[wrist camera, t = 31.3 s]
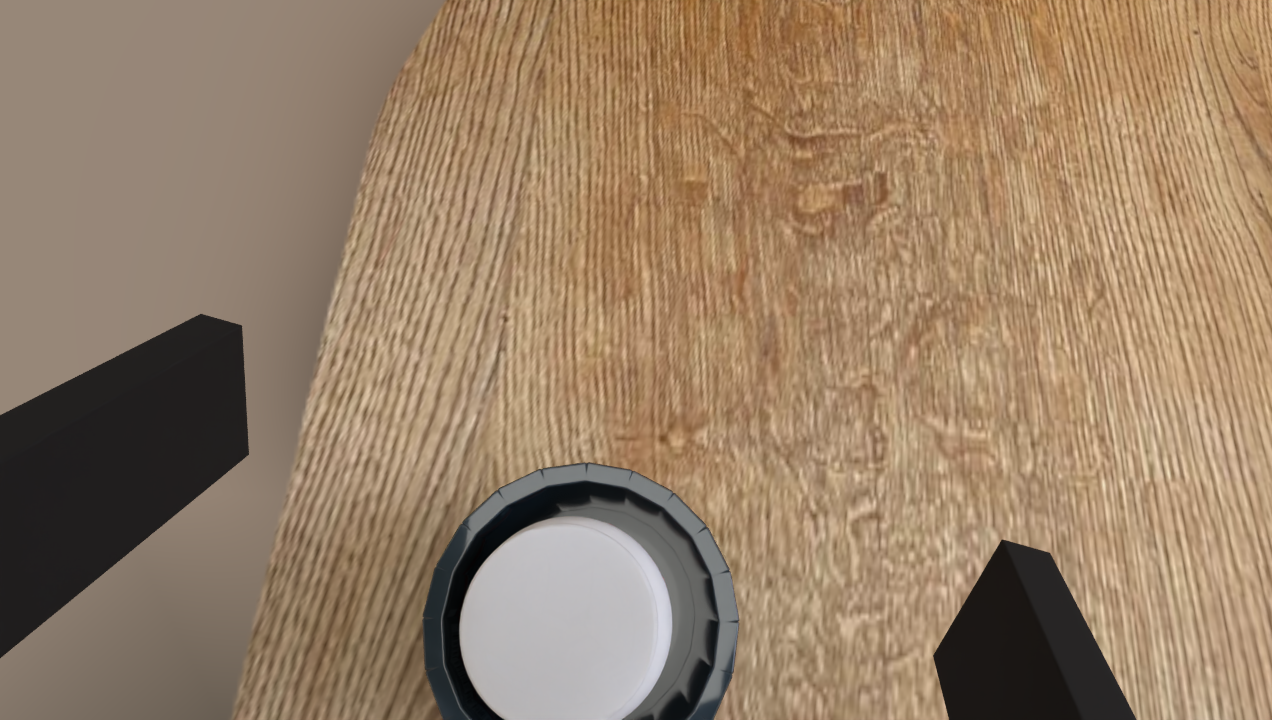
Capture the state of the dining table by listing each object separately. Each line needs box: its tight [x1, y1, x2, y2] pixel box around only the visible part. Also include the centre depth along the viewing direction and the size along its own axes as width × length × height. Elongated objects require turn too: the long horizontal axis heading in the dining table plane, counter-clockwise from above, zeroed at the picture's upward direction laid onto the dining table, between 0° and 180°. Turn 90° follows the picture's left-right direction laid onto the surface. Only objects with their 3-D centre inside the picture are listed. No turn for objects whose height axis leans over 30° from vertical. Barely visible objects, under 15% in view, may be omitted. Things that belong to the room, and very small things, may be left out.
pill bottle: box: [459, 516, 672, 720], centre depth 21 cm, size 6×6×10 cm
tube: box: [422, 462, 739, 720], centre depth 23 cm, size 9×9×7 cm
